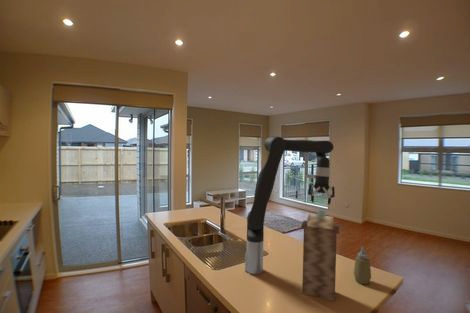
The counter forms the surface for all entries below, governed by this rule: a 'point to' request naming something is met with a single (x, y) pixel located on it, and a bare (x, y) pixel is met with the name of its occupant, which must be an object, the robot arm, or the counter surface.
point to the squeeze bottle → (362, 268)
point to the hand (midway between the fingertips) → (320, 203)
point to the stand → (319, 261)
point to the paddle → (320, 220)
